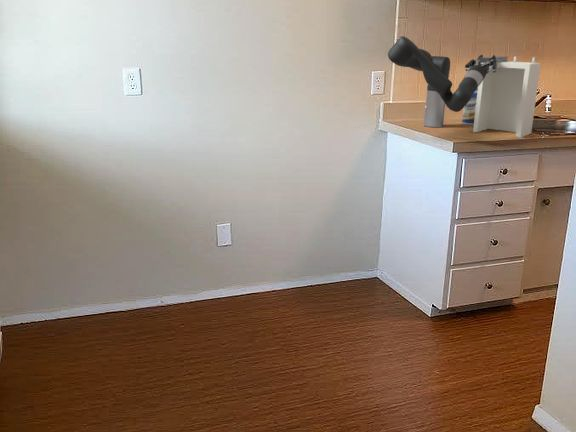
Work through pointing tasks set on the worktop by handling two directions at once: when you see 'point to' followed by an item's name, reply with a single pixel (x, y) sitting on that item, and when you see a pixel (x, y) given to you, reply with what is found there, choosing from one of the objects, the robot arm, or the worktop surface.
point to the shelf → (508, 98)
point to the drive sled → (485, 59)
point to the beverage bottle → (470, 110)
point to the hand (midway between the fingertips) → (488, 56)
